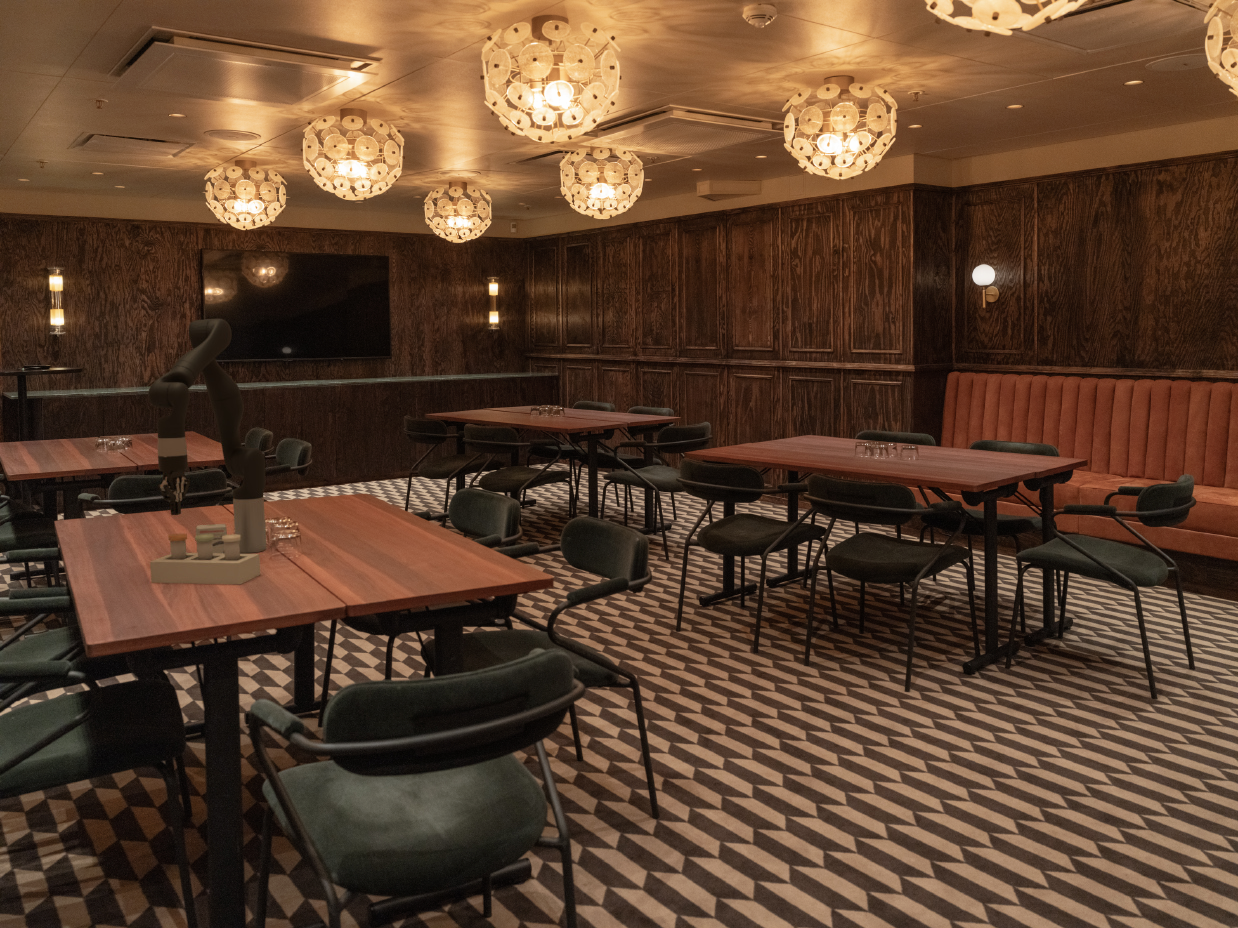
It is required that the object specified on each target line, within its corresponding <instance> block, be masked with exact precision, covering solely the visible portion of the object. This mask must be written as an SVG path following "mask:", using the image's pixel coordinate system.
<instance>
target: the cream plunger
mask: <svg viewBox="0 0 1238 928" xmlns="http://www.w3.org/2000/svg"><path fill="white" fill-rule="evenodd" d="M239 540H241V539H240V535H238V534H235V533H232V534H227V535H224V536H222V541H223V542H224V554H225V561H238V560H240V554H241V553H240V549H239Z"/></svg>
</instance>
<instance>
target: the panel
mask: <svg viewBox="0 0 1238 928" xmlns="http://www.w3.org/2000/svg"><path fill="white" fill-rule="evenodd" d="M186 555H187V558H186V559H184V560H171V553H170V554H166V555H165V556H162V557H159V558H156V559H153V560H151V561H149V565H150V582H151V584H152V583H153V584H155V583H156V584H157V583H158V584H160V583H161V584H190V585H191V584H194V585H198V584H199V585H240V586H241V585H242V584H244V583H246V582H249V581H250V580H252V579H254V578H257V577H259V576H261V562H260V561H261V560H260V553H240V560H238V561H225V554H224V553H213V559H212V560H198V553H197V552H186Z"/></svg>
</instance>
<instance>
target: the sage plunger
mask: <svg viewBox="0 0 1238 928" xmlns="http://www.w3.org/2000/svg"><path fill="white" fill-rule="evenodd" d="M213 539H214V536H213V534H201V535H196V534H195V536H194V540H195V542H196V541H197V542H196V552H197V551H198V560H212V559H213V545H212V540H213Z"/></svg>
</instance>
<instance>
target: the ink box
mask: <svg viewBox="0 0 1238 928" xmlns="http://www.w3.org/2000/svg"><path fill="white" fill-rule="evenodd" d="M227 531H228V530H227V524H226V523H218V524H217V523H216V524H215V523H214V524H200V525H199V524H198V525H197V526H195V536H196V535H201V534H213V536H214V539H213V540H212V545H213V553H224V542H223V541H222V536H224V535H228V533H227ZM195 542H196V543H197V541H195ZM196 553H198V551H197V550H196Z"/></svg>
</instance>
